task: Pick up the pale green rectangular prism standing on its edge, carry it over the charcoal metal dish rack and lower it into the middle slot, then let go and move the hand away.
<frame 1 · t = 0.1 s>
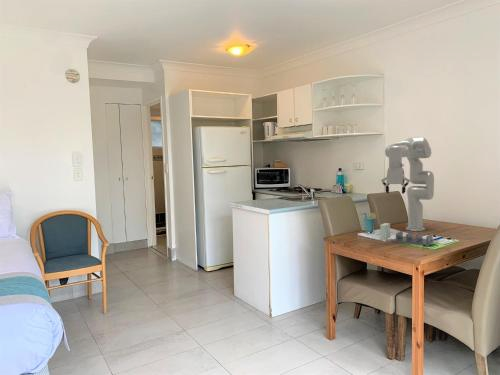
hand: (395, 193, 243), 31 cm above the table, tool pointing down, fingers open, 9 cm apart
cup: (368, 232, 276), on the table
rack: (414, 242, 243), on the table
pale green rectangular prism: (385, 239, 254), on the table
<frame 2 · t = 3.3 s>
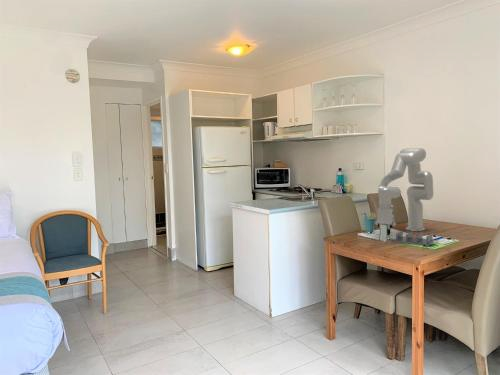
hand: (385, 234, 254), 3 cm above the table, tool pointing down, fingers closed on pale green rectangular prism, 3 cm apart
pale green rectangular prism: (385, 239, 254), on the table, touching gripper
everything else where it was.
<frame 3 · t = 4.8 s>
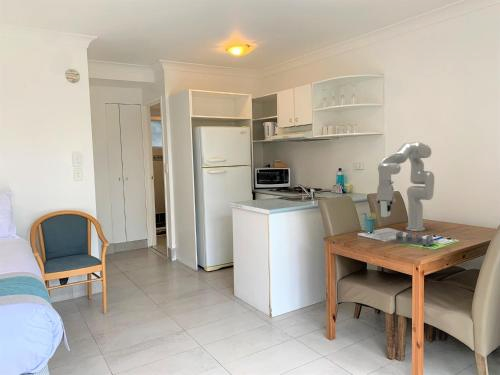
hand: (385, 210, 253), 19 cm above the table, tool pointing down, fingers closed on pale green rectangular prism, 3 cm apart
pale green rectangular prism: (385, 215, 253), point 15 cm above the table, touching gripper
everything else where it was.
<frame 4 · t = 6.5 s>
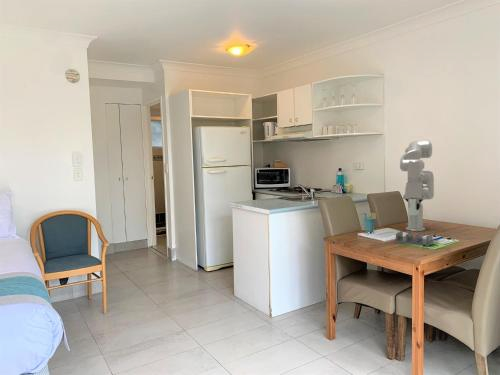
hand: (414, 209, 241), 21 cm above the table, tool pointing down, fingers closed on pale green rectangular prism, 3 cm apart
pale green rectangular prism: (414, 214, 241), point 18 cm above the table, touching gripper
everything else where it was.
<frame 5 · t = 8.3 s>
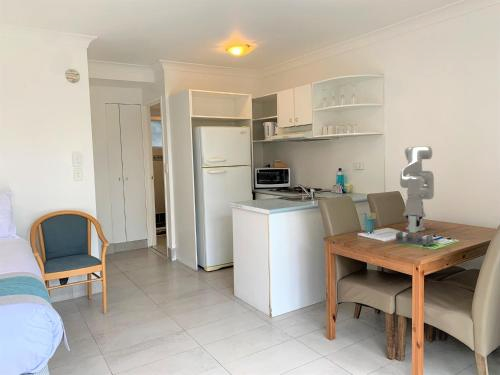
hand: (414, 226, 242), 10 cm above the table, tool pointing down, fingers closed on pale green rectangular prism, 3 cm apart
pale green rectangular prism: (414, 231, 242), point 7 cm above the table, touching gripper
everything else where it was.
when the fingers open (6 cm above the table, at t = 9.9 s): pale green rectangular prism drops 1 cm, resting on rack.
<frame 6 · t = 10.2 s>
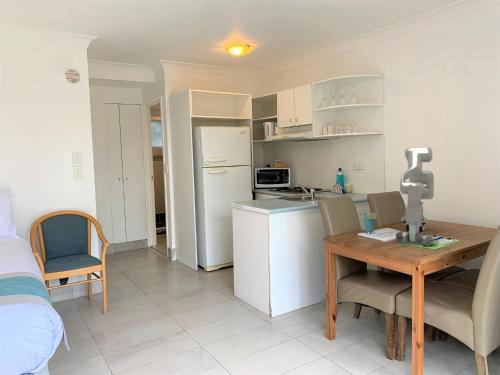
hand: (414, 231, 242), 7 cm above the table, tool pointing down, fingers open, 7 cm apart
pale green rectangular prism: (414, 239, 243), point 1 cm above the table, touching rack
everything else where it was.
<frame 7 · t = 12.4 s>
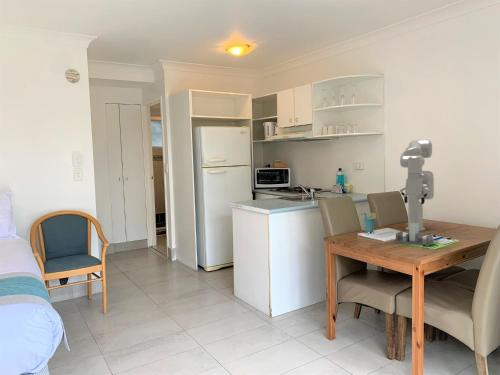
hand: (414, 203, 241), 24 cm above the table, tool pointing down, fingers open, 9 cm apart
nothing on the table moved.
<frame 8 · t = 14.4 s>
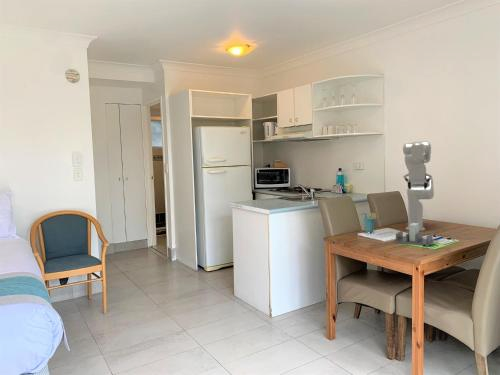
hand: (417, 188, 253), 32 cm above the table, tool pointing down, fingers open, 9 cm apart
nothing on the table moved.
at the end: pale green rectangular prism 0.1 cm off-centre on the rack, point 1.5 cm above the rack's base; pale green rectangular prism tilted 0°; the gripper is holding nothing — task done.
